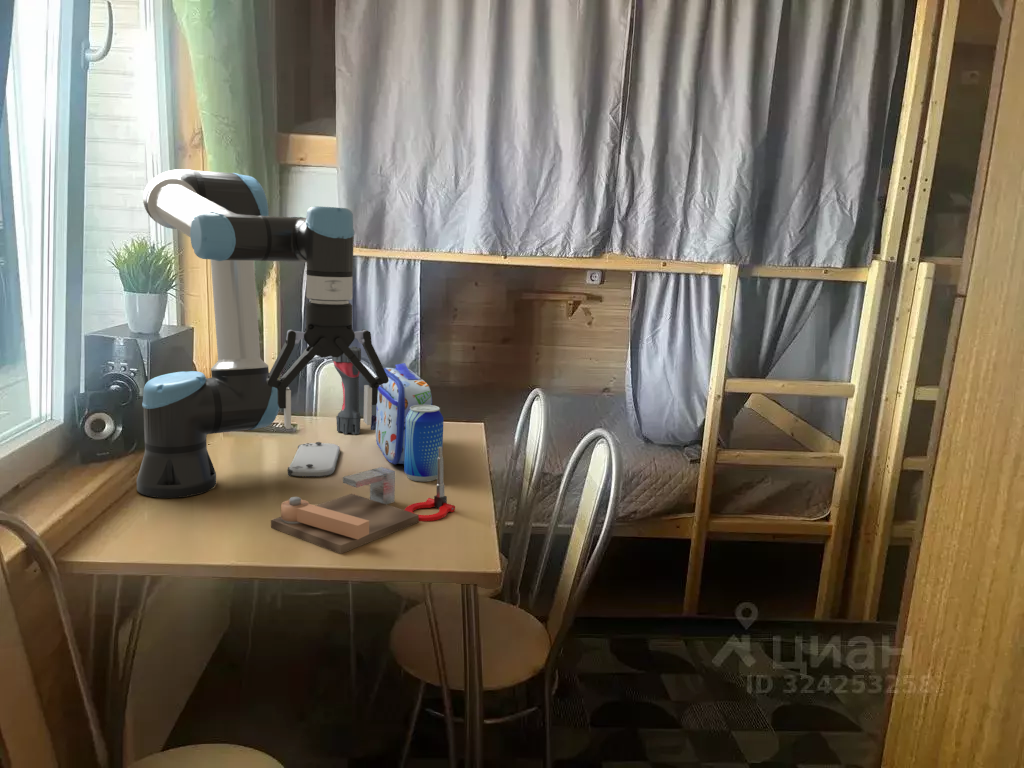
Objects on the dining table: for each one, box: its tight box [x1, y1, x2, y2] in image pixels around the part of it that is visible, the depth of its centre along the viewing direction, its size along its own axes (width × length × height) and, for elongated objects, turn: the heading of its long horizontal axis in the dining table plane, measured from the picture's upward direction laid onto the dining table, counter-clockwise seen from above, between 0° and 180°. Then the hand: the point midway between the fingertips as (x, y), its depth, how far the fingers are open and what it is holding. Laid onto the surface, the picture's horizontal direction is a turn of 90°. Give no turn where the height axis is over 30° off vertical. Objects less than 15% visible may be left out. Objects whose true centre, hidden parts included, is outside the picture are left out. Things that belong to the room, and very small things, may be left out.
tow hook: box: [404, 447, 456, 522], centre depth 154 cm, size 8×13×9 cm
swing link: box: [280, 496, 369, 539], centre depth 141 cm, size 18×5×4 cm, turn 61°
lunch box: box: [370, 362, 433, 465], centre depth 192 cm, size 28×10×22 cm, turn 22°
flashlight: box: [331, 345, 362, 435], centre depth 211 cm, size 8×8×23 cm
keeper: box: [342, 466, 396, 505], centre depth 157 cm, size 10×4×6 cm, turn 141°
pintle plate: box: [270, 493, 420, 555], centre depth 147 cm, size 18×20×2 cm
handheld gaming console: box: [287, 441, 341, 478], centre depth 184 cm, size 23×3×10 cm
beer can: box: [403, 404, 445, 483], centre depth 176 cm, size 8×8×16 cm
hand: (328, 425), depth 136 cm, fingers open, 13 cm apart
